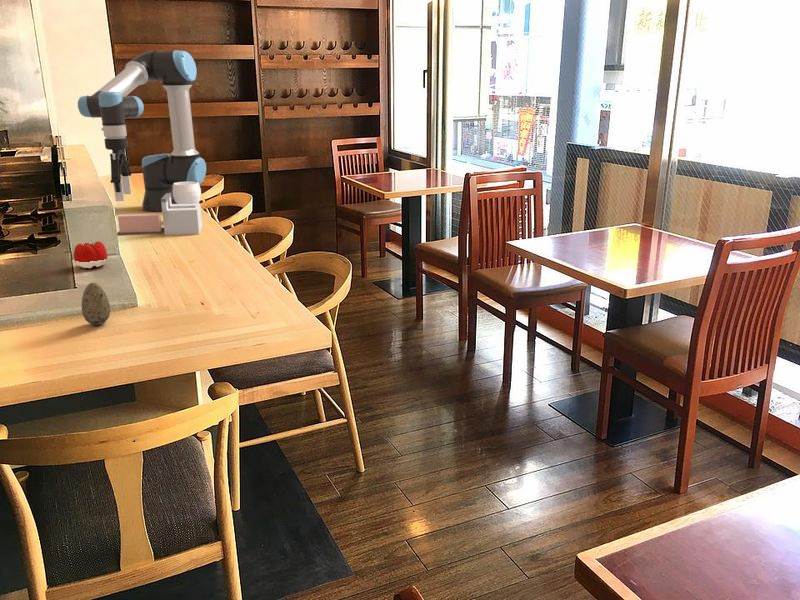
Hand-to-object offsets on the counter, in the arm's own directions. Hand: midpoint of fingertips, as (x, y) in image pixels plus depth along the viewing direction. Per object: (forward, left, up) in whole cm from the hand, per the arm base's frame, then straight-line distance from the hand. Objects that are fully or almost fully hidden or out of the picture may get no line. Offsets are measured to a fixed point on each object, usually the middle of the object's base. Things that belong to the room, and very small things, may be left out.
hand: (123, 197), depth 245 cm
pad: (-1, +5, -13) cm, 14 cm away
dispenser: (0, +20, -13) cm, 24 cm away
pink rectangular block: (+1, +5, -12) cm, 13 cm away
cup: (-19, +20, -13) cm, 30 cm away
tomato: (+48, -1, -13) cm, 50 cm away
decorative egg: (+101, +12, -13) cm, 103 cm away
